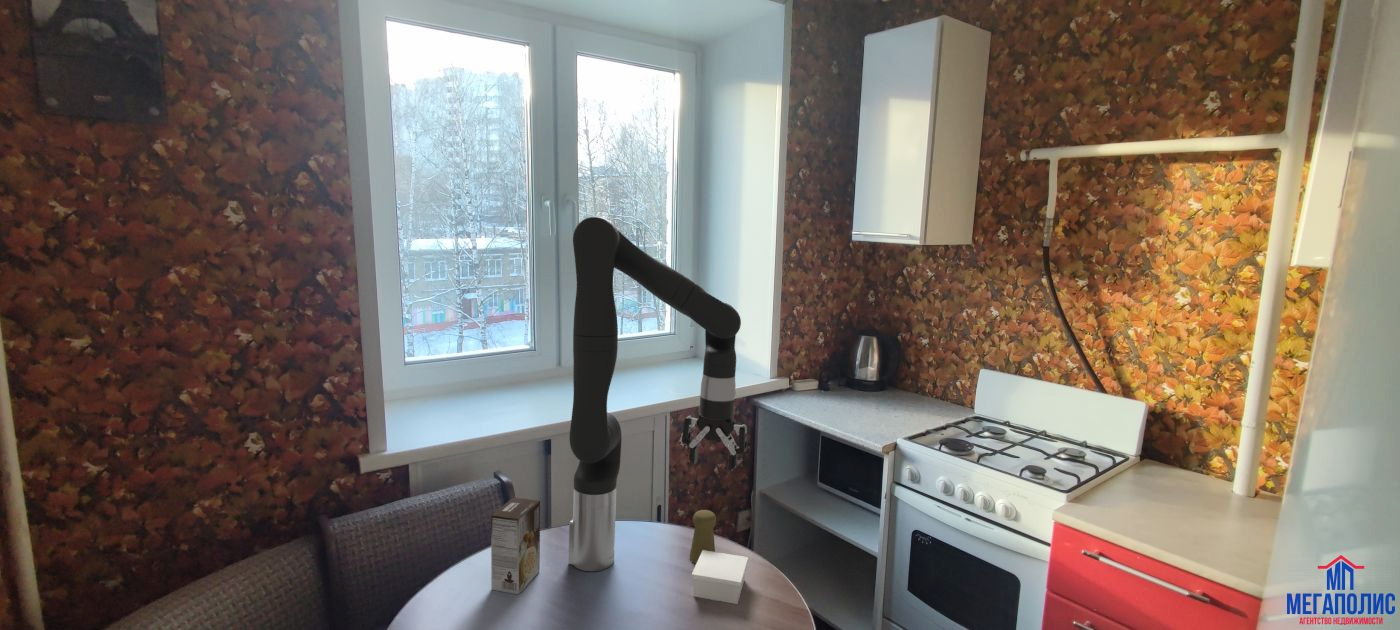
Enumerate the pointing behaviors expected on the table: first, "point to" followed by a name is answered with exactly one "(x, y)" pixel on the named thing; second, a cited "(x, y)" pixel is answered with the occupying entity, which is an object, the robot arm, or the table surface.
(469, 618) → the table surface
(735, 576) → the podium
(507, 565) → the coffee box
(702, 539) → the cork
